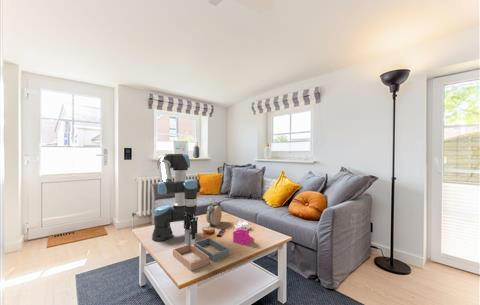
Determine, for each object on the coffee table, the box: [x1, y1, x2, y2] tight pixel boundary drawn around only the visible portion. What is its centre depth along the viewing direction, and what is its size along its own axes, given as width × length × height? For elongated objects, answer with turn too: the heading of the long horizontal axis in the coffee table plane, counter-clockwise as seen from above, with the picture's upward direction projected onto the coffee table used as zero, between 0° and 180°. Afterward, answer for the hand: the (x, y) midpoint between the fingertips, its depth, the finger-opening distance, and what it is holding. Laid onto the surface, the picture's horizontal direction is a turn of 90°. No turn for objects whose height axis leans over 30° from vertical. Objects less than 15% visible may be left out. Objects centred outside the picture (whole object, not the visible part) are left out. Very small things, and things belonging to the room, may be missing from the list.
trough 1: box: [172, 244, 210, 272], centre depth 130 cm, size 23×12×4 cm, turn 42°
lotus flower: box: [233, 219, 251, 230], centre depth 180 cm, size 14×15×9 cm
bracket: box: [232, 229, 254, 246], centre depth 158 cm, size 12×10×10 cm
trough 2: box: [193, 237, 230, 262], centre depth 140 cm, size 23×12×4 cm, turn 42°
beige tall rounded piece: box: [205, 198, 223, 227], centre depth 192 cm, size 17×9×23 cm, turn 164°
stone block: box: [184, 227, 197, 246], centre depth 131 cm, size 5×5×8 cm
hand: (190, 242), depth 131 cm, fingers closed on stone block, 5 cm apart
